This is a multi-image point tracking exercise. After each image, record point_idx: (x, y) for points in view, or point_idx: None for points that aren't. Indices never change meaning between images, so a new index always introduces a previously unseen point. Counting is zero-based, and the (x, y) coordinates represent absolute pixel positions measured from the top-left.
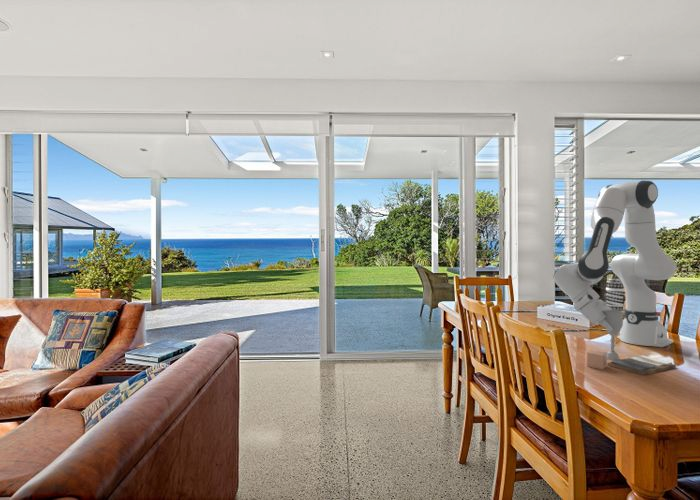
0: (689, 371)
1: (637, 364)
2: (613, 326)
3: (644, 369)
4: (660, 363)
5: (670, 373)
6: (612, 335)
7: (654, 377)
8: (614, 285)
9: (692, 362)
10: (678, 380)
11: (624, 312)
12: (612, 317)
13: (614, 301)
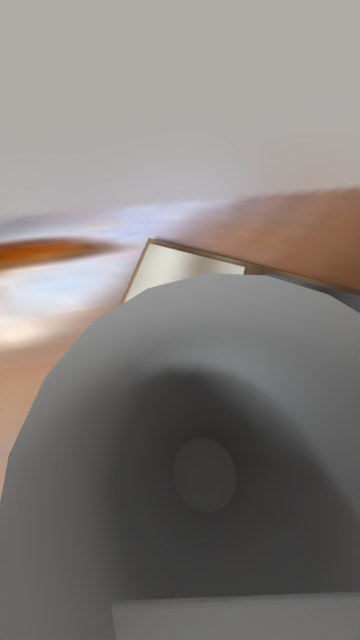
0: (171, 212)
1: None
2: (296, 449)
3: (341, 293)
4: (204, 266)
5: (251, 245)
6: (220, 470)
7: (353, 269)
8: None
9: (24, 219)
10: (316, 220)
11: (224, 276)
12: None
13: None
